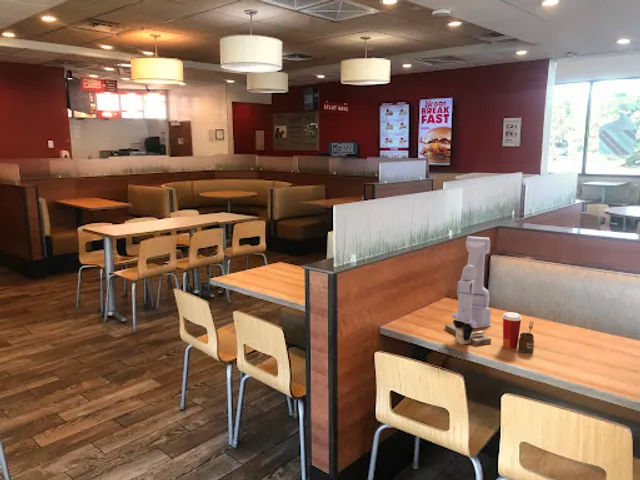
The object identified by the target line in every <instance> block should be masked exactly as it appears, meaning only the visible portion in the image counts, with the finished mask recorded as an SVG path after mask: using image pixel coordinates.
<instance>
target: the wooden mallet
mask: <svg viewBox="0 0 640 480" xmlns="http://www.w3.org/2000/svg"><path fill="white" fill-rule="evenodd" d="M476 331H477V330H476ZM485 333H486V332H485V331H484V330H478V331H477V332H472V333H471V335H470V339H469V340H467V341H465V340H464V332H463V328H462V327H461V328H456V335H455V342H456V343H457V344H459V345H461V346H462V345H467V344H472V343H471V336H474V335H481V334H483V335H485Z"/></svg>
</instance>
